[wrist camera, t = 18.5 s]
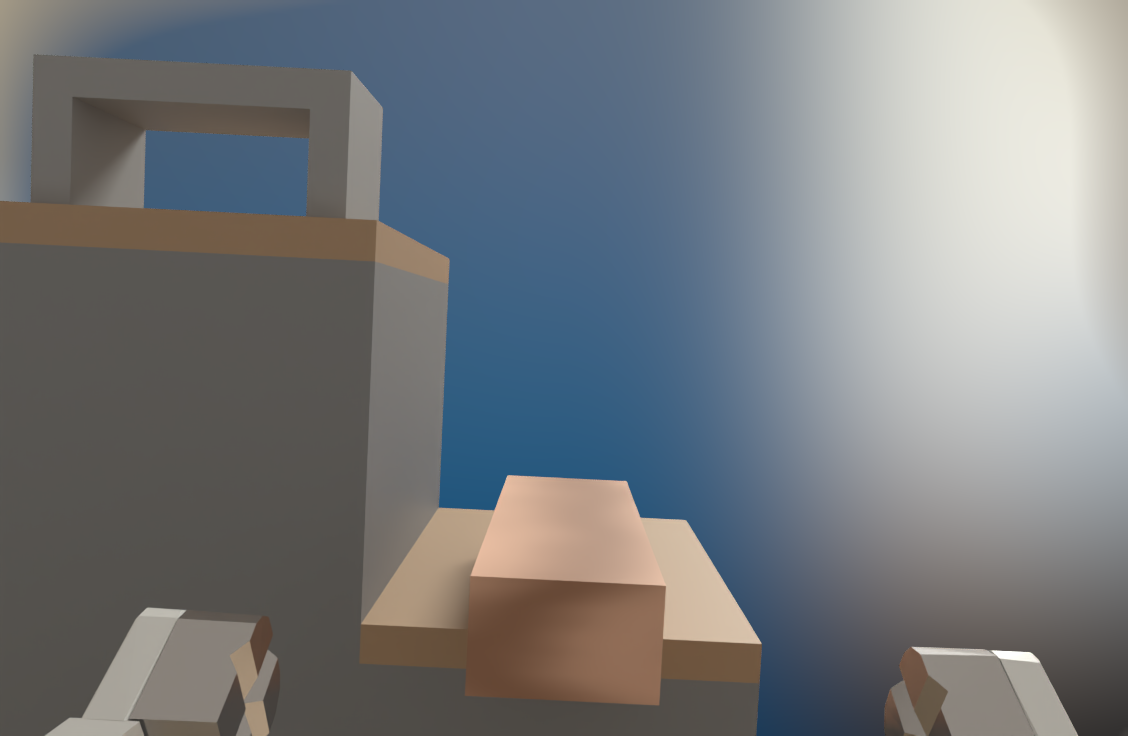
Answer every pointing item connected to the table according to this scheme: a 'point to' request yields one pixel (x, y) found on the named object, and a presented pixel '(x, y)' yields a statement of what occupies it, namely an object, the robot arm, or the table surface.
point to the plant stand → (262, 430)
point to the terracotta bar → (566, 597)
